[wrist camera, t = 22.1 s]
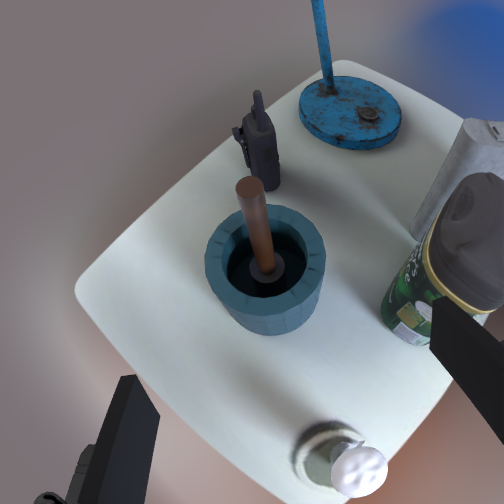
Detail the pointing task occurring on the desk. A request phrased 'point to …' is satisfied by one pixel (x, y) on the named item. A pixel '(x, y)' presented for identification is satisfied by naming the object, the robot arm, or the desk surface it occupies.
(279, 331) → the teal pencil cup
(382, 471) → the milkshake
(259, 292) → the rod with cylinder end
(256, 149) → the two-way radio
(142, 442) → the robot arm
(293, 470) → the desk surface
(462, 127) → the hip flask
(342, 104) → the desk lamp
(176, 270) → the desk surface
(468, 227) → the coffee jar
